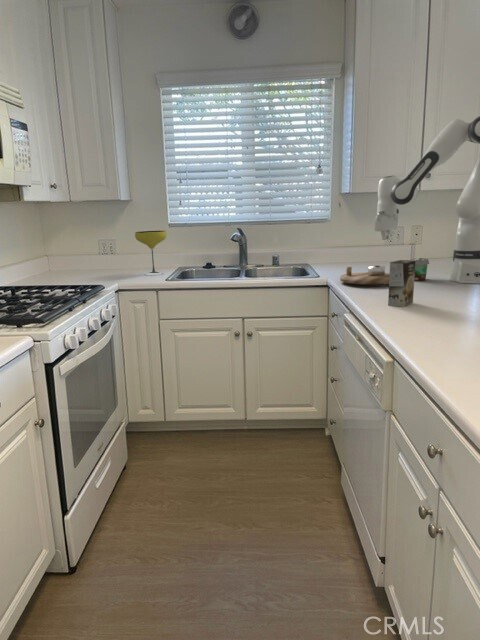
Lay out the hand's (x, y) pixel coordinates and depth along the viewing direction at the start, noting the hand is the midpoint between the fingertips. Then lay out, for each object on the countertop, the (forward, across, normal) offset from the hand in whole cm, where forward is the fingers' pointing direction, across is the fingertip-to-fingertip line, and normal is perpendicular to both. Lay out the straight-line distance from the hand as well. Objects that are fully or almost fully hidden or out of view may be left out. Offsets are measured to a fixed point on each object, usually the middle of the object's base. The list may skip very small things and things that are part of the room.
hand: (385, 239), depth 232 cm
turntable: (+17, -17, 0) cm, 24 cm away
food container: (+19, +1, -18) cm, 26 cm away
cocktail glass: (+19, -43, +124) cm, 133 cm away
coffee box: (+19, -56, -29) cm, 66 cm away
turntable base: (+19, -17, 0) cm, 26 cm away
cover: (+16, -10, 0) cm, 19 cm away
